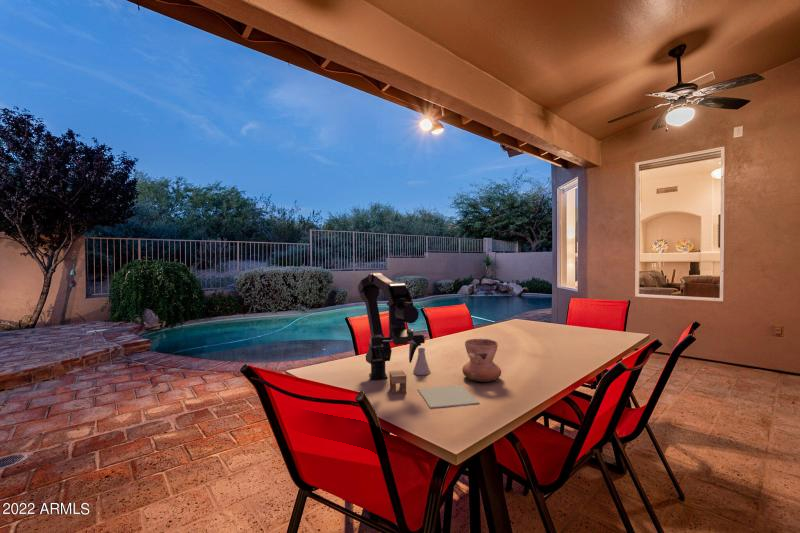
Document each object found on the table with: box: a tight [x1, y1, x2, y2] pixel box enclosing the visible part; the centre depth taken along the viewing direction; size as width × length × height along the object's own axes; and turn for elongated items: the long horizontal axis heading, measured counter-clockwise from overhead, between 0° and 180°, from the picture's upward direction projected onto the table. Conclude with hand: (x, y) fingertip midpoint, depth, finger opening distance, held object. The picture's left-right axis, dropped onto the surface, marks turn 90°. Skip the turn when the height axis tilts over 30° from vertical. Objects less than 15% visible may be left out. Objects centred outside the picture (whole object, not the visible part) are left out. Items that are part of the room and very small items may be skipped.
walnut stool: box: [388, 370, 407, 395], centre depth 118 cm, size 6×5×6 cm
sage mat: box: [417, 384, 480, 409], centre depth 112 cm, size 16×16×1 cm
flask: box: [412, 347, 431, 376], centre depth 137 cm, size 7×7×10 cm
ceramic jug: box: [461, 338, 502, 383], centre depth 130 cm, size 18×14×14 cm
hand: (397, 363), depth 118 cm, fingers open, 9 cm apart
